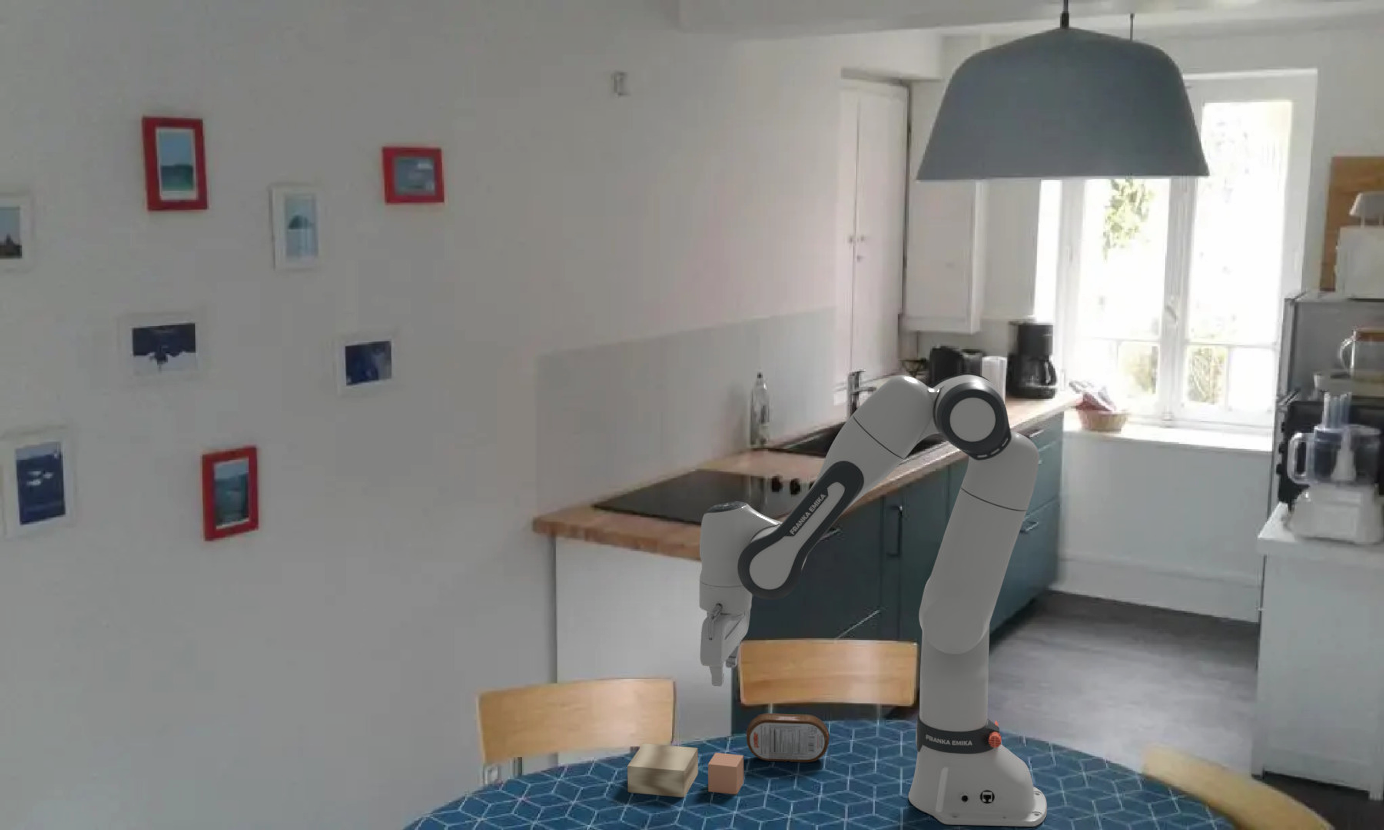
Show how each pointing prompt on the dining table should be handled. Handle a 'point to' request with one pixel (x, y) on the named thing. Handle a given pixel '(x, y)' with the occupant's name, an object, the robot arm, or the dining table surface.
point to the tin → (787, 737)
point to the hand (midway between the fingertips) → (724, 675)
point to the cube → (725, 773)
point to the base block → (663, 770)
